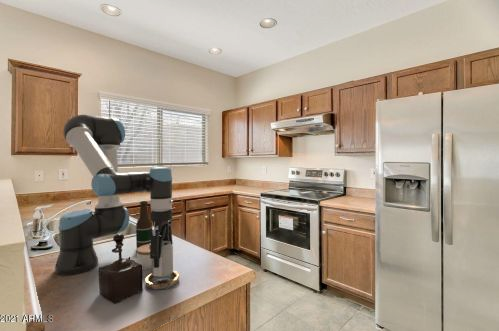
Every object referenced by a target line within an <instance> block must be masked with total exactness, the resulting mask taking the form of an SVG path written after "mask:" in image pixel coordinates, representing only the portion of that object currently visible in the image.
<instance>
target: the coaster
mask: <svg viewBox="0 0 499 331" xmlns="http://www.w3.org/2000/svg"><path fill="white" fill-rule="evenodd" d="M179 279H180V275H179V272H178V271H175V270H173V273H172V274H171V275H170V276H168V277H166V278H155V277H154V276H153V275H152V273H150V274H148V275H147V276H146V277H145V287H146V288H147V289H149V290H150V291H151V290H152V291H163V290H167V289H170V288H173V287H175V286H176V285H177V284H178V283H179Z"/></svg>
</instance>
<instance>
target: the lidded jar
mask: <svg viewBox="0 0 499 331" xmlns="http://www.w3.org/2000/svg"><path fill="white" fill-rule="evenodd" d="M150 246H151V244H147V245H143V246H140V247H139V248H138V249H137V248H136V254H137V255H136V256H137V257H136V258H137V261H138V263H139V264H141V265H142V268H144V269H152V259H150Z"/></svg>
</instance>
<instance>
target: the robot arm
mask: <svg viewBox="0 0 499 331" xmlns="http://www.w3.org/2000/svg"><path fill="white" fill-rule="evenodd" d="M62 131H63V132H62V133H63V137H64V140H65V141H66V143H67V144H68V145H69V146H71V147H72V148H74V149H75V152H76V153H77V154H78V156H79V157H80V159H81V160H82V162H83V164H84V165H85V167H86V168H87V169H88V171H89V174H91V176H92V178H91V184H90V185H91V189H92V193H93V194H94V195H95V196H97V204H96V205H95V206H94V211H93V210H92V209H88V208H87V209H86V208H85V209H77V210H73V211H70V212H67V213H65V214H63V215H62V216H61V217H60V218H59V220H58V221H59V222H58V223H59V224H58V231H59V254H58V257H57V260H56V264H55V265H54V273H55V274H56V275H60V276H61V275H62V276H69V275H70V276H71V275H77V274H81V273H85V272H87V271H91V270H92V269H94V268H96V267H97V266H98V265H99V257H98V256H97V253H96V251H95V248H94V240H95V239H100V238H103V237H107V236H108V237H109V236H113V235H117V234H121V233H123V232H124V231H126V230H127V228H128V226H129V223H130V212H129V210H128V209H127V207H124V203H123V202H122V201H120V195H124V194H125V195H126V194H134V193H140V192H141V193H142V192H147V193H149V194H150V195H149V196H150V202H149V203H150V205H149V206H150V210H151V211H150V220H151V222H154V227H153V228H154V229H152V230H151V231H150V233H151V246H150V259H153V269H154V276H162V257H160V255H161V248H162V241H170V242H171V245H172V246H173V244H174V242H173V230H172V224H173V221H172V219H173V209H172V208H173V204H174V200H173V176H172V169H171V168H170V167H169V166H168V167H166V166H165V167H164V166H158V167H151V168H150V170H149V171H136V172H134V171H133V172H119V167H118V165H119V164H118V149H119V148H121V144H122V143H123V142H125V138H126V129H125V126H124V124H123V123H122V122H121V120H120V119H118V118H114V117H110V116H99V115H98V116H97V115H90V114H79V115H78V114H77V115H74V116H73V117H71V118H69V119H68V120H67V121H66V122H65V124H64V126H63V130H62Z"/></svg>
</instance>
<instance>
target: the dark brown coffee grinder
mask: <svg viewBox="0 0 499 331" xmlns="http://www.w3.org/2000/svg"><path fill="white" fill-rule="evenodd" d="M112 239H113V241H114V243H115V248H113V249H111V253H115V254H117V253H118V259H117V260H115V261H113V262H111V263H108V264H106V265H103V266H100V267H99V268H98V269H97V270H98V288H99V295H100V296H101V297H102V298H103V299H105V300H106V301H108V302H110V303H111V304H114V305H115V304H117V303H120V302H123V301H124V300H127V299H129V298H131V297H133V296H135V295H138V294H139V293H141V292H143V291H144V288H143V284H144V283H143V280H144V278H143V266H142V265H141V264H140V263H139V262H136V261H135V260H134V259H132V258H131V256H129V257H127V258H123V256H122V252H123V246H124V242H123V241H124V239H125V236H124V234H122V233H117V234H114V236H113V238H112Z"/></svg>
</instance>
